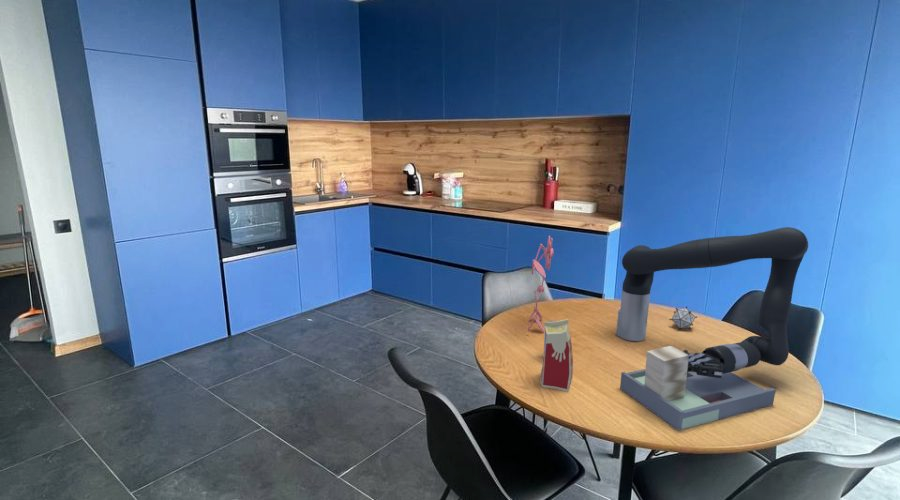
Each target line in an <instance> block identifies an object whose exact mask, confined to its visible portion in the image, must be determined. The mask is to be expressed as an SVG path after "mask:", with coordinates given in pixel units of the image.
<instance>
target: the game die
mask: <svg viewBox="0 0 900 500" xmlns="http://www.w3.org/2000/svg"><path fill="white" fill-rule="evenodd" d="M673 313H674V314H673V316H672V318H669V319H668V320H669V321H672V322H673V323H674V324H675V326H677V327H678V328H679V329H678V330H679V331H681V330H682V329H685V328H687V329H688V328H689V329H692V327H691V326H694V324H693V323H694V321H695V319H697V318H698V316H695V315H694V314H693V313H692V311H691V310H689V309H688V306H685V308H684V307H683V308H679V309H678V307H675V311H673Z"/></svg>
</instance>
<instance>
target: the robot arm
mask: <svg viewBox="0 0 900 500" xmlns="http://www.w3.org/2000/svg"><path fill="white" fill-rule="evenodd" d="M808 248H809V241H808V237H807V236H806V234H805V233H804V232H803V231H802V230H800V229H797V228H795V227H781V228H775V229H771V230H766V231H762V232H757V233H753V234H752V233H751V234H746V235H745V234H744V235H729V236H728V235H727V236H726V235H725V236H716V237H707V238H700V239H694V240H689V241H684V242H681V243H677V244H673V245H671V246H667V247H666V246H665V247H662V248H650V247H649V246H648V245H643V244H639V245H635V246H633V247H632V248H630V249H629V250H627V251H626V252H625V253H624V255H623V257H622V260H621V264H622V267H623V269H624V270H625V271H626V272H625V273H626V274H625V277H624V280H623V282H622V286H621V287H622V290H621V299H620V309H619V310H617V311H618V312H617V319H616V322H617V323H616V330H615V331H616V333H615V335H616V336H617V337H620V338H621V339H622V340H626V341H630V342H642V341H644V340H645V339H646V335H647V328H648V327H647V326H648V325H647V324H648V318H649V317H648V316H649V307H650V298H651V297H650V296H651V290H652V286H653V282H654V275H655V273H656V272H661V271H668V270H687V269H688V270H690V269H691V270H693V269H706V268H714V267H715V268H716V267H723V266H727V265H732V264H736V263H740V262H743V261H748V260H762V259H771V265H770V266H771V267H770V273H769V276H768V277H769V278H768V281H767V284H766V287H765V289H764V292H763V295H762V300H761V303H760V308H759V313H758V316H757V317H758V318H757V321H756V322H757V326H758V327H759V328H761V329H763V330H765V331H767V332H768V335H769V337H765V336H761V335H751V336H748V337H747V338H744V339H743V340H742V341H740V342H735V343H724V344H719V345H716V346H709V347H707V348H705V349H704V350H703V351H701V352H695V353H690V352H689V351H688V350H687V349H683V351H682V352H684V353H686V354H688V355H689V359H688V368H687V372H692V373H694V372H696V374H697V375H701V376H708V377H715V378H722V374H725V373H729V372H732V373H733V372H738V371H740V370H743V369H746V368H751V367H753V366H754V367H755V366H756V365H757V364H759V362H762V363H767V364H769V365H773V366H781V365H782V364H783V365H784V364H785V362H786V361H787V360H788V357H789V353H790V352H789V351H790V350H789V341H788V331H787V324H788V320H789V315H790V310H791V306H792V299H793V298H792V297H793V293H794V286H795V281H796V277H797V273H798V272H799V268H800V265H801V263H802V261H803V258H804V256H805V254H806V253H807V251H808ZM705 372H706V373H705Z"/></svg>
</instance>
